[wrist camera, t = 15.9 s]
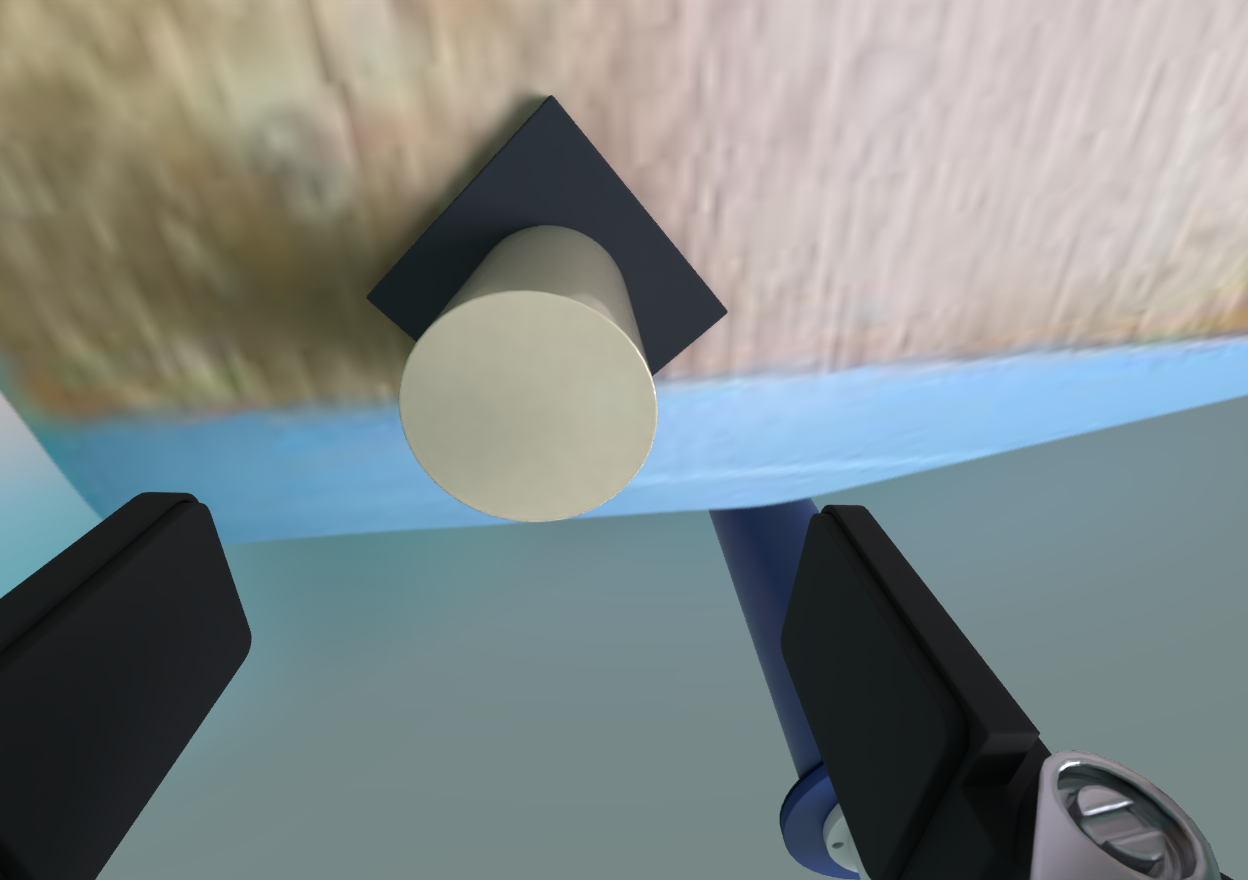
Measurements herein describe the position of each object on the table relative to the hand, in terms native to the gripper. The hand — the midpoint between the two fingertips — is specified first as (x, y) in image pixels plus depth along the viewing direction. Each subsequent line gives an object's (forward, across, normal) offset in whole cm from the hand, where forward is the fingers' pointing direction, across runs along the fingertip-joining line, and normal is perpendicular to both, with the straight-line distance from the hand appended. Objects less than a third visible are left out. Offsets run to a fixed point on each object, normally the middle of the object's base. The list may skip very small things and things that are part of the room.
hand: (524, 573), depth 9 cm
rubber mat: (+16, 0, -1) cm, 16 cm away
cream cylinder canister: (+15, 0, -1) cm, 15 cm away
